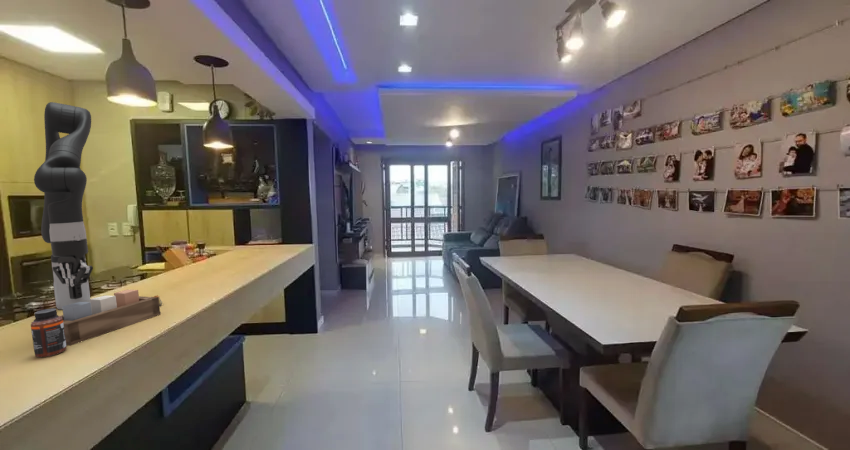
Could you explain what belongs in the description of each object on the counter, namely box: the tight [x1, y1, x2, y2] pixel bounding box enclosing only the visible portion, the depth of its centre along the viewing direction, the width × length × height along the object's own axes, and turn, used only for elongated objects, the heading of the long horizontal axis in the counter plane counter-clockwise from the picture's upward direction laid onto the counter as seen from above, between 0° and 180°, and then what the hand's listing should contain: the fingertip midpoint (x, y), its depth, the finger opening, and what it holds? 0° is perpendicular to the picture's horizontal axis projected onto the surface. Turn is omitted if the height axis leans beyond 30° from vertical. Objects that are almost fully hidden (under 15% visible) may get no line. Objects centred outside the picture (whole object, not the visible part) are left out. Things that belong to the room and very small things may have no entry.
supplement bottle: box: [30, 308, 68, 358], centre depth 98 cm, size 6×6×11 cm
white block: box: [90, 295, 117, 315], centre depth 117 cm, size 4×4×5 cm
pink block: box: [113, 289, 140, 307], centre depth 124 cm, size 4×4×5 cm
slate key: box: [62, 302, 92, 321], centre depth 110 cm, size 4×4×5 cm
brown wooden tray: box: [60, 295, 161, 346], centre depth 118 cm, size 12×26×6 cm, turn 164°
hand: (76, 298), depth 110 cm, fingers closed
